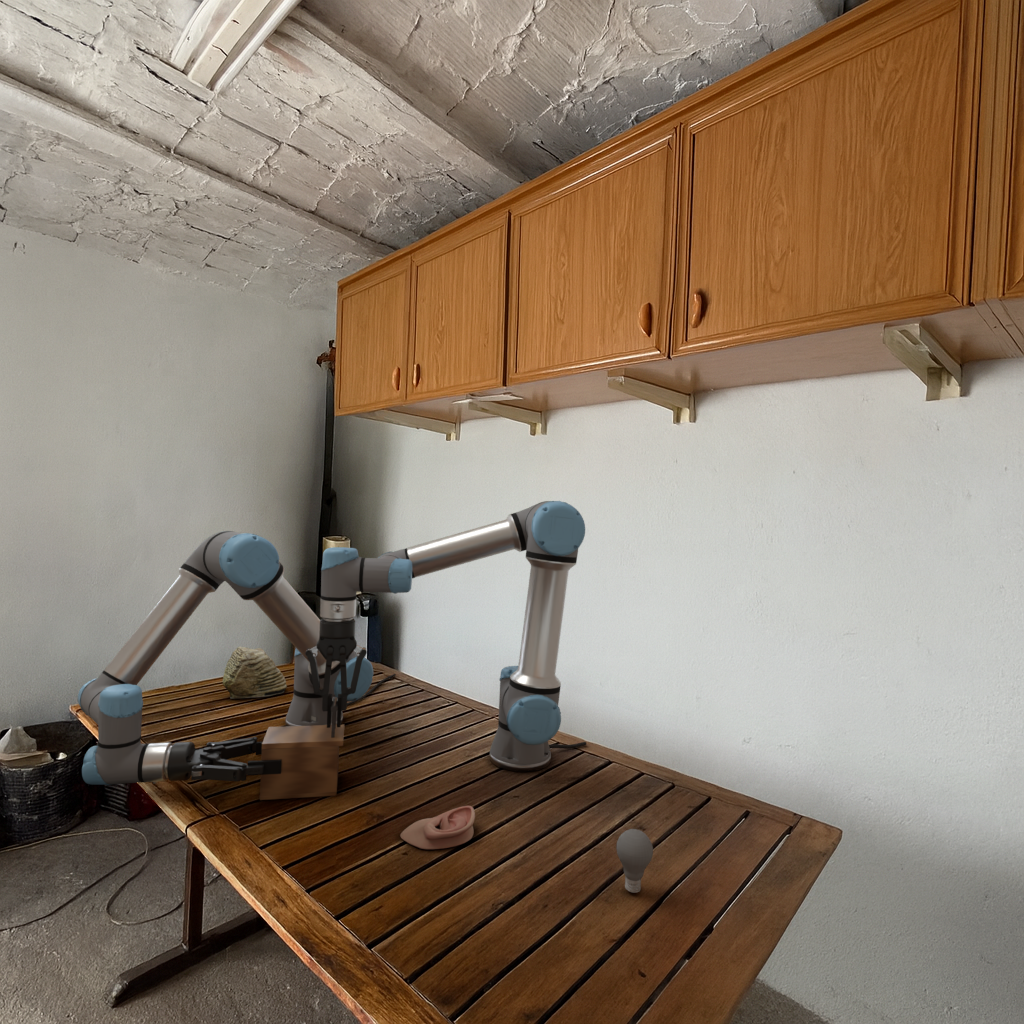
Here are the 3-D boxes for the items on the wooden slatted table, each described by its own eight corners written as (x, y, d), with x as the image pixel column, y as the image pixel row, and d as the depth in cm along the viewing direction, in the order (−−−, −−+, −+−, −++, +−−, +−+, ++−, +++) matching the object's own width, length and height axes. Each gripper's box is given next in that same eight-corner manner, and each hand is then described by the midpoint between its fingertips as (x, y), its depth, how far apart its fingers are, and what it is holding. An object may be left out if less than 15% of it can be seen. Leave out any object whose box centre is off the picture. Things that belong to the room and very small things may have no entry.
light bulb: (610, 879, 108) (613, 822, 108) (644, 879, 109) (647, 822, 109) (619, 902, 102) (622, 840, 102) (655, 901, 103) (658, 840, 103)
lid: (344, 729, 144) (345, 694, 144) (342, 745, 135) (344, 708, 135) (268, 732, 140) (269, 696, 140) (261, 749, 131) (263, 710, 131)
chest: (338, 775, 144) (339, 729, 144) (336, 795, 135) (338, 746, 134) (266, 779, 141) (268, 732, 140) (259, 800, 131) (261, 749, 131)
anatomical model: (394, 823, 116) (416, 795, 127) (393, 844, 116) (415, 814, 128) (464, 834, 114) (480, 804, 125) (463, 855, 114) (479, 824, 125)
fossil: (218, 695, 195) (220, 647, 195) (278, 685, 208) (279, 640, 207) (228, 703, 189) (230, 653, 188) (289, 692, 201) (290, 645, 201)
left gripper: (185, 757, 142) (289, 753, 148) (153, 805, 121) (276, 797, 126) (186, 724, 142) (290, 721, 147) (154, 766, 121) (278, 760, 126)
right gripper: (301, 621, 133) (297, 732, 134) (371, 621, 136) (367, 730, 137) (304, 615, 140) (301, 720, 141) (371, 615, 144) (367, 718, 144)
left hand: (284, 756), depth 137 cm, fingers closed on chest, 10 cm apart
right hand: (333, 725), depth 139 cm, fingers closed on lid
